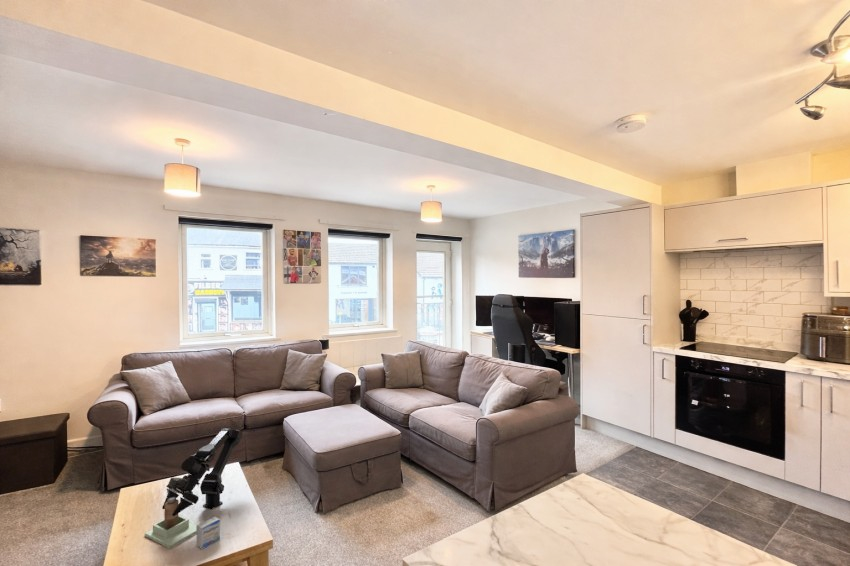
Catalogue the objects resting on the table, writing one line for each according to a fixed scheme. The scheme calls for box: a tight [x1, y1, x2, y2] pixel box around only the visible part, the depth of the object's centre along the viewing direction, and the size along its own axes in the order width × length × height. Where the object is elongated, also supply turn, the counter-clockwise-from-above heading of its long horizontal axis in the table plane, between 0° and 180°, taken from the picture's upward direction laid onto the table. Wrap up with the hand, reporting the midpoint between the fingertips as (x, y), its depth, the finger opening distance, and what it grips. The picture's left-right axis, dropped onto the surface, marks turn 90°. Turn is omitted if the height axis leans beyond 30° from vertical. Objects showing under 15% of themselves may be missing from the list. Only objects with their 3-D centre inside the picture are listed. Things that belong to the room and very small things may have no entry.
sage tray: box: [144, 514, 198, 549], centre depth 174 cm, size 18×14×4 cm
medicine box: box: [195, 516, 221, 549], centre depth 168 cm, size 8×4×9 cm, turn 148°
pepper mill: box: [163, 497, 180, 530], centre depth 175 cm, size 5×5×13 cm
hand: (167, 512), depth 174 cm, fingers open, 9 cm apart
